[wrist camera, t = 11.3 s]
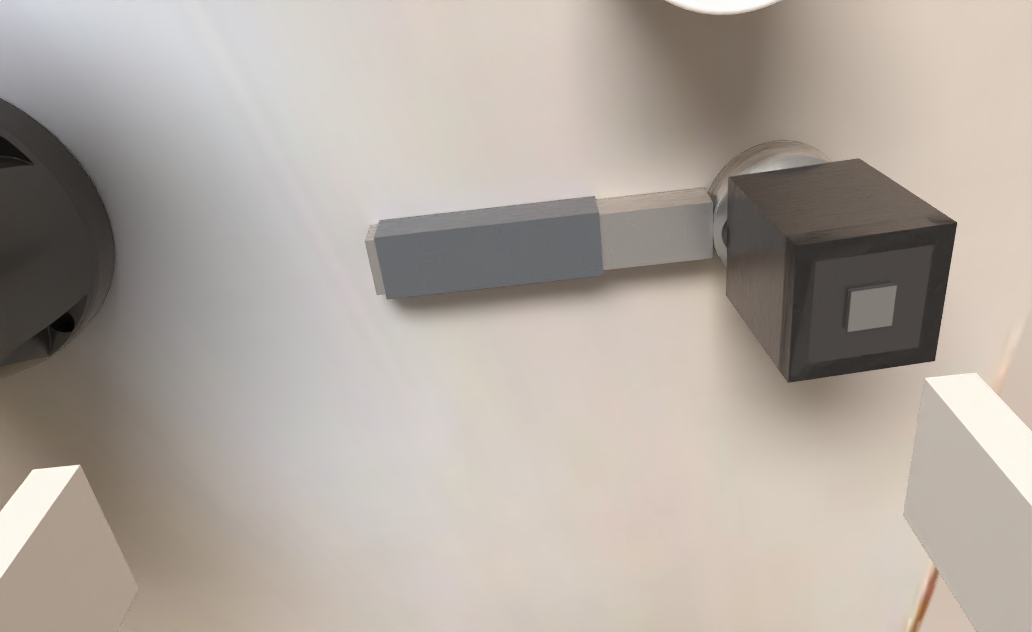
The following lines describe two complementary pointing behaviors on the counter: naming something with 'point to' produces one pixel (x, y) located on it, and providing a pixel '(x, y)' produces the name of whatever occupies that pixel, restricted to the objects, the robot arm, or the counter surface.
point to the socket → (837, 268)
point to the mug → (722, 6)
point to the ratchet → (563, 234)
